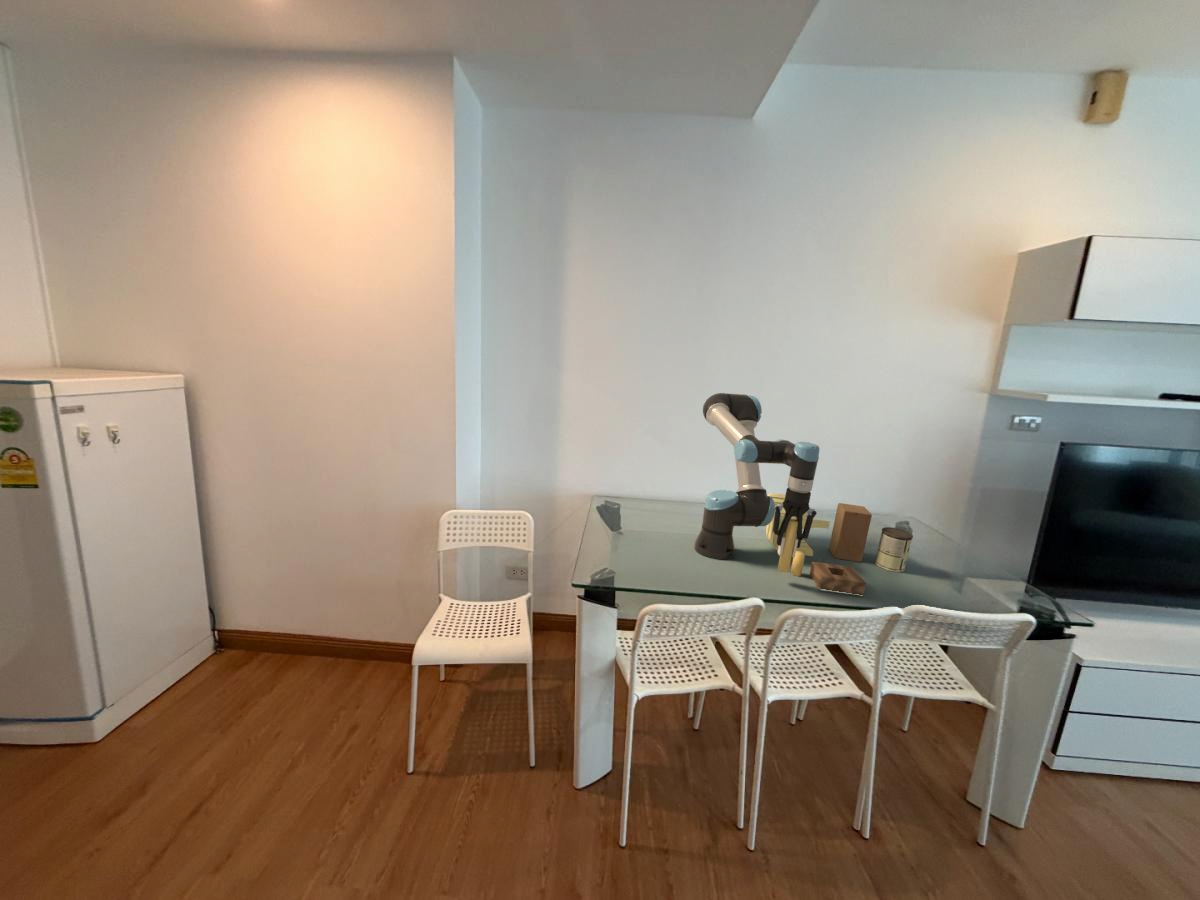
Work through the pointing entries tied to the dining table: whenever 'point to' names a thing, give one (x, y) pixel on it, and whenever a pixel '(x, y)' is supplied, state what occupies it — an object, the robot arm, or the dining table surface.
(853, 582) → the hole block
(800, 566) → the short pin
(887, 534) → the coffee can
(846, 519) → the wooden block
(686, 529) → the dining table surface
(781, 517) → the slatted curved stool
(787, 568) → the long pin
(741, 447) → the robot arm
